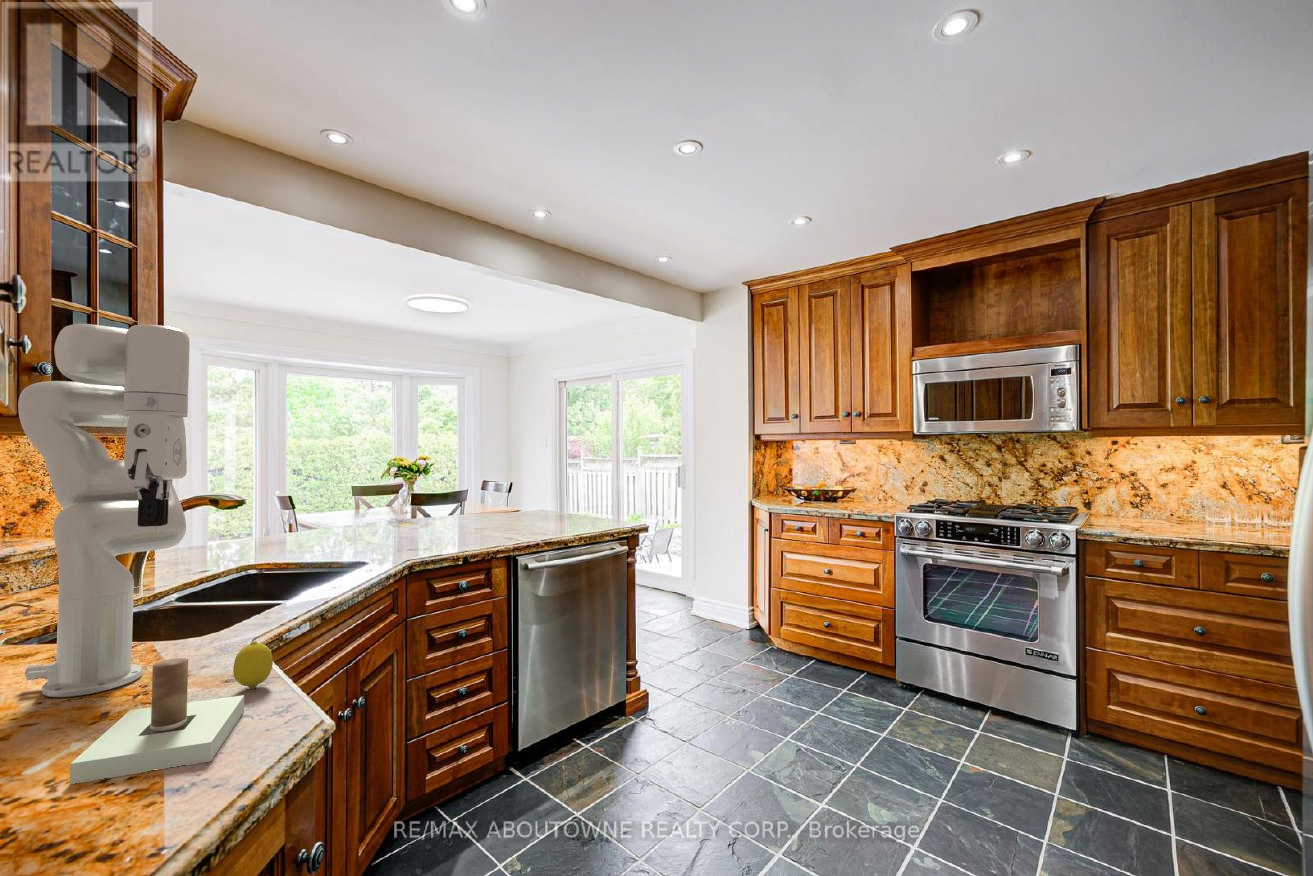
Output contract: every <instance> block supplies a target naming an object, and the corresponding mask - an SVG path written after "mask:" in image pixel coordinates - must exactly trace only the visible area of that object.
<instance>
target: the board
mask: <svg viewBox="0 0 1313 876" xmlns="http://www.w3.org/2000/svg"><path fill="white" fill-rule="evenodd" d="M244 712H245V694H244V695H236V696H228V697H221V698H220V697H219V698H213V699H206V700H197V701H189V702H188V701H187V722H186V723H185V724H184V730H179V731H172V732H165V733H158V734H154V731H151V730H150V724H151V707H144V708H136V709H130V710H129V711H127V712H126V713H125V714H124V715H123V716H122V717H121V718H120V719H118V720H117V721H116V722H115V723H114V724H113V725H112V726H111V727H109V728H108V729H107V730H106V731H104V733H103V734H101V735H100V737H98V739H96V740H95V741H94V742H93V743H92V744H91V745H90V746H89V747H87V748H86V749H85V750H84V751H83V752H82V753H80V755H79V756H77V757H76V758H75V759H74V760H73V761H72V762H70V765H69V766H70V767H69V771H70V772H69V785H70V784H71V785H74V784H75V783H77V784H81V783H82V784H83V783H88V782H94V780H95V781H98V780H97V779H101V780H105V779H104V778H107V779H111V778H112V779H113V778H119V777H124V776H125V777H126V776H130V775H136V774H143V773H148V772H147V771H150V770H154V769H162V770H165V769H164V768H168V769H170V768H169V767H174V766H179V765H186V766H191V765H197V764H203V763H209V762H211V761H213V759H214V757H215V756H216V754H217V753H218V752H219V750H220V748H221V747H222V745H223V744H224V743H225V741H226V739H227V738H228V737H229V735H230V733H231V732H232V730H233V729H234V727H235V726H236V724H237V722H239V720H240V718H241V717H242V715H243V714H244ZM174 768H175V767H174ZM142 772H143V773H142ZM150 772H151V771H150ZM75 785H76V784H75Z"/></svg>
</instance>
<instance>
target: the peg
mask: <svg viewBox="0 0 1313 876" xmlns="http://www.w3.org/2000/svg"><path fill="white" fill-rule="evenodd" d="M151 677H152V681H151V704H150V705H151V724H150V730H151V731H154V734H158V733H165V732H172V731H179V730H184V724H185V723H186V722H187V703H188V687H189V686H188V683H189V682H188V680H189V658H185V657H184V658H183V657H180V658H179V657H177V658H176V657H175V658H168V659H165V660H162V661H158V662H155V663H154V664H153V665H152V676H151Z"/></svg>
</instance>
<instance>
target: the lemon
mask: <svg viewBox="0 0 1313 876" xmlns="http://www.w3.org/2000/svg"><path fill="white" fill-rule="evenodd" d="M273 661H274V660H273V654H272V651H271V649H270V648H269V646H267V645H266V644H264V643H260V642H257V641H255V640H254V641H251V642H250V643H249V644H247V645H245V646H243V647H242V648H241V649H240V650H239V651H238V653H237V654H236V656H235V659H234V663H233V677H234V678H235V680H236V682H237V683H239V684H240V686H245V687H248V688H249V689H250V690H253V689H256V687H257V686H258V685H260V684H261V683H263V682H264V681H266V679H268V677H269V676H270V674H271V672H272V669H273V664H274V662H273Z"/></svg>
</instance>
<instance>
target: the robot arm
mask: <svg viewBox="0 0 1313 876" xmlns="http://www.w3.org/2000/svg"><path fill="white" fill-rule="evenodd" d="M190 346H191V344H190V337H189V335H188V334H187V333H186V332H185V331H183V330H182V329H179V328H175V327H171V326H165V325H158V324H137V325H136V324H135V325H132V326H130V327H129V328H128V329H127V328H123V327H122V328H121V327H115V326H109V325H108V326H107V325H100V324H90V323H74V324H70V325H67V326H64V327H63V328H62V329H61V330H60V331H59V333H58V335H57V337H56V339H55V343H54V358H55V365H56V367H57V369H58V370H59V372H60V373H61V374H62V375H63V376H64V377H66V378H68V379H70V380H71V381H69V380H68V381H67V380H63V381H62V380H50V381H41V382H40V381H39V382H35V383H32V384H30V385H28V386H26V387H24V388H23V389H22V390H21V392H20V394H19V397H18V402H17V403H18V404H17V407H18V416H19V417H18V418H19V420H20V424H21V428H22V429H23V431H24V434H25V436H26V437H27V439H28V440H29V441H30V443H31V444H32V446H33V447H34V449H36V450H37V451H38V453H39V454H40V456H41V457H42V458H43V460H44V462H45V465H46V470H47V472H48V477H49V479H50V483H51V486H52V490H53V493H54V496H55V498H56V500H57V502H58V503H59V505H60V506H61V507H62V508H64V509H62V510H61V511H60V512H59V513H57V515H56V516H55V518H54V521H53V525H52V526H53V527H52V528H53V529H52V531H53V532H52V533H53V538H54V539H53V540H54V545H55V551H56V556H57V557H56V558H57V565H58V595H57V596H58V597H57V598H58V599H57V600H58V601H57V602H58V603H57V626H56V627H57V629H56V631H57V632H56V655H55V656H56V658H55V660H56V661H53V662H52V663H50V664H44V663H42V664H34V665H28V666H27V667H26V669H25V670H24V671H25V672H24V677H25V678H26V680H27V681H34V680H39V679H45V680H47V681H46V682H45V683H44V684H43V685H42V687H41V694H42V695H44V696H45V697H51V698H52V697H53V698H68V697H69V698H70V697H77V696H85V695H90V694H95V693H100V692H105V691H108V690H112V689H115V688H116V689H117V688H119V687H121V686H125V685H128V684H130V683H132V682H134V681H136V680H137V679H139V678H141V676H142V675H143V670H144V669H143V666H141V665H140V664H139V665H138V664H135V663H132V653H133V651H132V650H133V623H134V622H133V621H134V620H133V619H134V617H133V616H134V590H135V579H134V576H133V574H132V572H131V571H130V570H129V569H128V568H127V567H126V566H124V565H123V564H122V563H121V562H120V561H118V560H117V558H116V557H117V556H119V555H124V554H131V553H142V552H149V551H158V550H165V549H169V548H172V547H175V546H176V545H178V544H180V543H181V541H182V540H183V539H184V537H185V535H186V531H187V521H186V516H185V513H184V510H183V506H182V504H181V501H180V498H179V496H178V494H177V492H176V490H175V486H174V484H173V480H178V479H180V480H181V479H183V478H184V477H186V475H187V473H188V471H187V470H188V468H187V467H188V466H187V465H188V464H187V463H188V462H187V438H186V437H187V436H186V435H187V434H186V426H185V419H184V418H188V416H189V415H188V412H189V411H188V410H189V381H190V380H189V377H190V348H191V347H190ZM79 426H80V427H105V428H106V427H107V428H111V427H112V428H126V433H125V444H124V454H123V455H124V456H123V458H124V459H112V458H110V456H109V452H108V451H107V450H108V449H107V448H106V446H105V444H104V443H102V441H101V440H99V439H98V438H97V437H95V436H94V435H92V434H91V433H89V432H88V431H85V430H84V429H82V428H79Z"/></svg>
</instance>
